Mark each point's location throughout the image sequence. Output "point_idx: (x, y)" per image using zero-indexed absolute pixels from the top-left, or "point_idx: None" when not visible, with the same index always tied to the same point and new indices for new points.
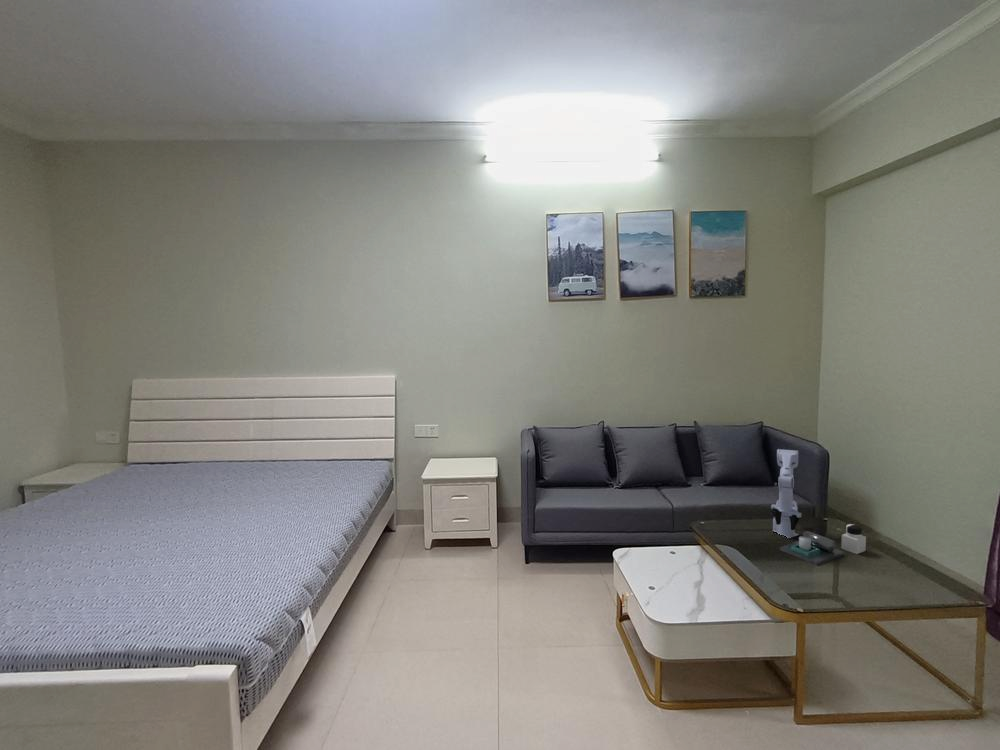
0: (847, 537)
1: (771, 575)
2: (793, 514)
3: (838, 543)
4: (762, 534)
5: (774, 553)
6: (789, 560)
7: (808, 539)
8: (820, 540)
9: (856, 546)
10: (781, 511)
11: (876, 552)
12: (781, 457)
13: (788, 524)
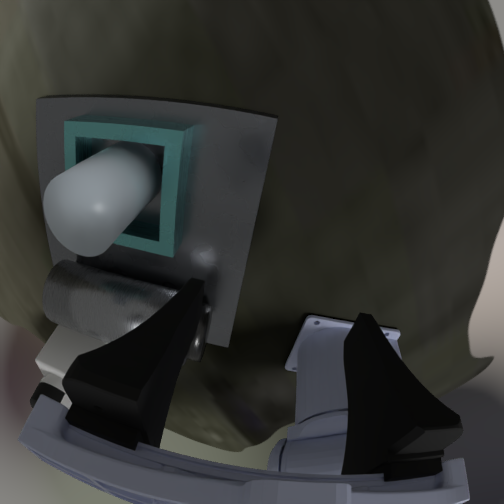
0: (64, 371)
1: None
2: (126, 451)
3: None
4: (437, 277)
5: (278, 34)
6: (156, 16)
7: (57, 218)
8: (82, 297)
9: (48, 340)
10: (275, 493)
11: None
12: None
13: (318, 389)
